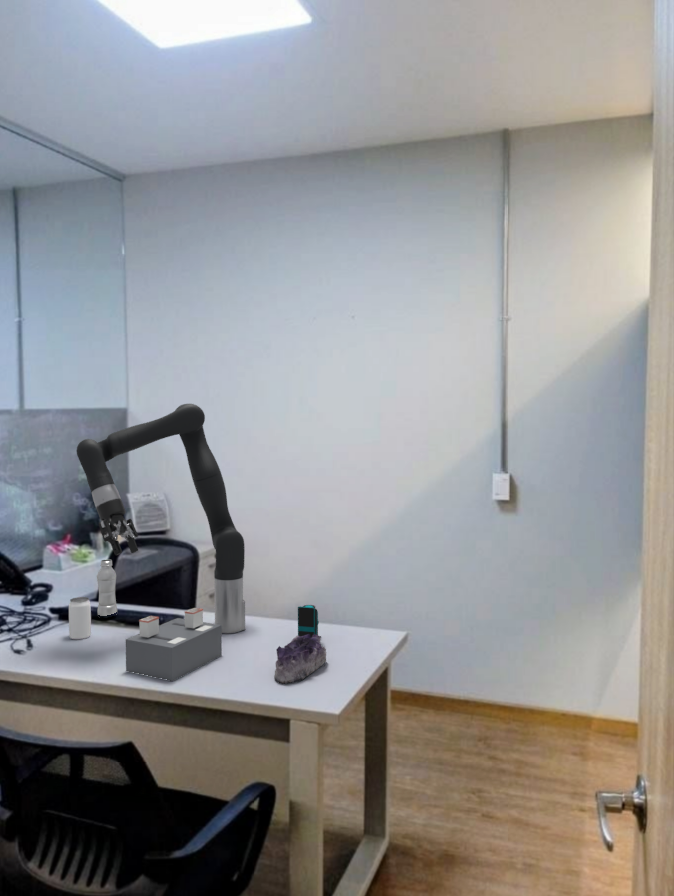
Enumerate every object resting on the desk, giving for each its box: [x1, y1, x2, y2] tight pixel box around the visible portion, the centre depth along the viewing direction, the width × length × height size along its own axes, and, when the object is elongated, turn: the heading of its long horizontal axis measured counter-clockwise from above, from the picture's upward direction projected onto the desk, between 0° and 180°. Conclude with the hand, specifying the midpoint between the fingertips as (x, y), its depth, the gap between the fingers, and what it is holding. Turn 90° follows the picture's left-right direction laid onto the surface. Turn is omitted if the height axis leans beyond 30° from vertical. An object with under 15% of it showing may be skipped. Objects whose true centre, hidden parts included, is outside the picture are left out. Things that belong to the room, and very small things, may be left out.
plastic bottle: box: [96, 558, 118, 616], centre depth 241 cm, size 6×7×20 cm
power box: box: [125, 617, 223, 682], centre depth 197 cm, size 16×22×9 cm
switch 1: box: [138, 615, 160, 638], centre depth 194 cm, size 3×4×4 cm
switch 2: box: [184, 607, 204, 628], centre depth 202 cm, size 3×4×4 cm
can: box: [68, 596, 92, 641], centre depth 221 cm, size 6×6×12 cm
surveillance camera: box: [297, 604, 322, 639], centre depth 216 cm, size 6×12×10 cm
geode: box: [273, 634, 327, 685], centre depth 191 cm, size 20×12×10 cm, turn 160°
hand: (127, 553), depth 206 cm, fingers open, 8 cm apart
